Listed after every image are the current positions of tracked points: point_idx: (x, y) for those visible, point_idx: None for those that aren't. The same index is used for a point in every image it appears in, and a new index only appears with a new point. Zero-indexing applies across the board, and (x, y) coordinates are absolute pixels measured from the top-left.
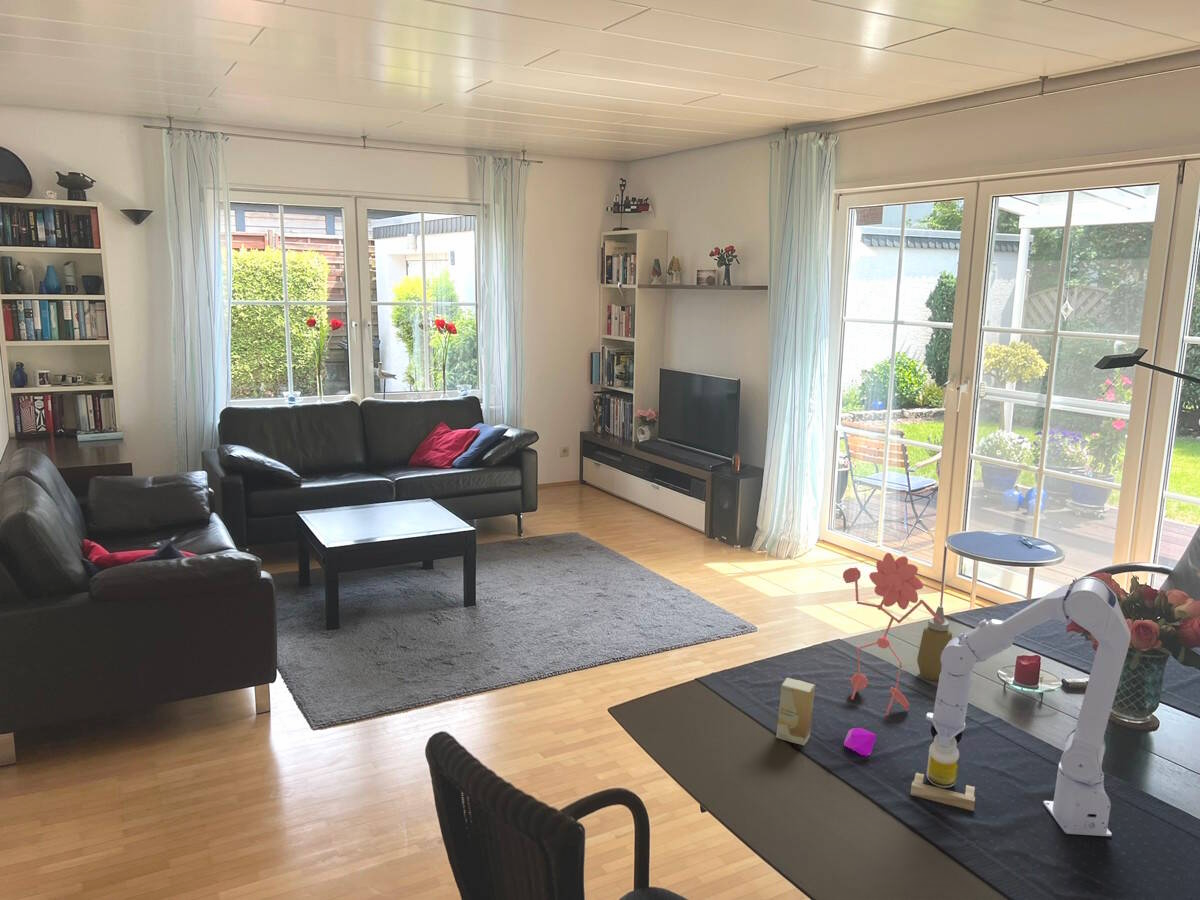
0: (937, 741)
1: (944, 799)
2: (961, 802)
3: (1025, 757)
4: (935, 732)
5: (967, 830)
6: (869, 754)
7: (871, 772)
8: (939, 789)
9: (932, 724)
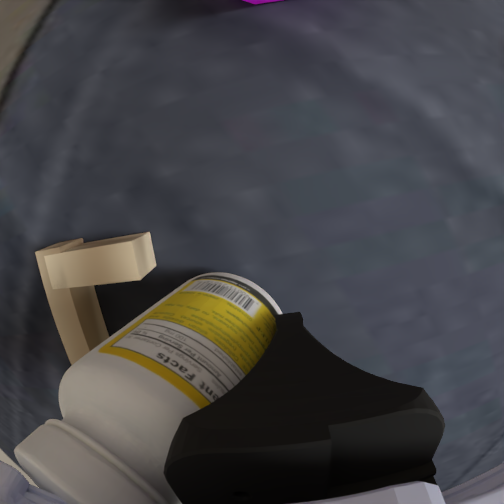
0: (25, 464)
1: None
2: None
3: (482, 438)
4: (166, 474)
5: (40, 402)
6: (252, 3)
7: (120, 60)
8: (80, 352)
9: (374, 422)
